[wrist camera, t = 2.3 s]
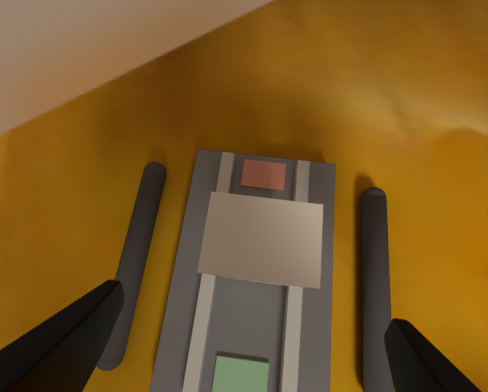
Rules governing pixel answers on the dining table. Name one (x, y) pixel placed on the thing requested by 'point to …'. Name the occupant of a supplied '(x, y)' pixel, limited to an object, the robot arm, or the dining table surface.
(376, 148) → the dining table surface
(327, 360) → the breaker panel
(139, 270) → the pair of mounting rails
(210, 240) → the handle
